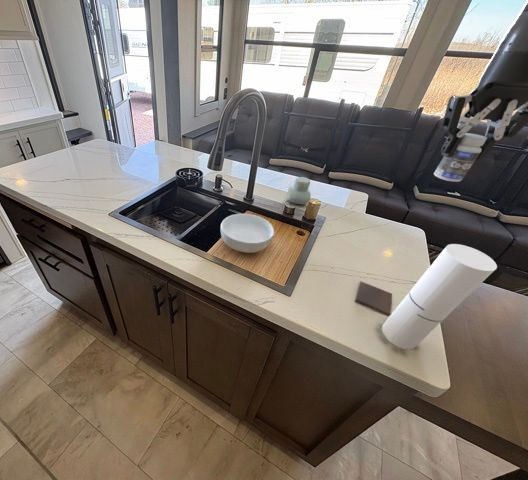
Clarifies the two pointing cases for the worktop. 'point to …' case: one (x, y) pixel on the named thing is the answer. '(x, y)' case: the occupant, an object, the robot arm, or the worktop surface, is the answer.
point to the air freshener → (299, 191)
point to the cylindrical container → (437, 294)
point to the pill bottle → (460, 158)
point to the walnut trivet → (374, 298)
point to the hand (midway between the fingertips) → (460, 156)
